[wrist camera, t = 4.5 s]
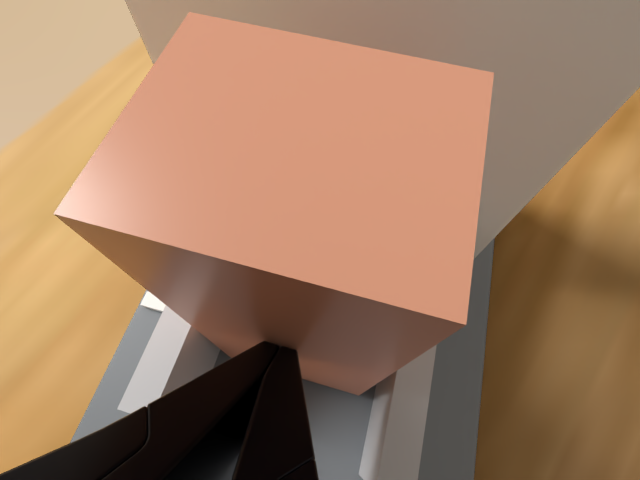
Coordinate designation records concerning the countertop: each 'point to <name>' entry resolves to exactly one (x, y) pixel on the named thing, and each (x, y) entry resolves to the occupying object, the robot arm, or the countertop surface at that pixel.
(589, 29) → the test rig
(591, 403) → the countertop surface
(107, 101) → the countertop surface
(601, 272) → the countertop surface
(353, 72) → the plug
